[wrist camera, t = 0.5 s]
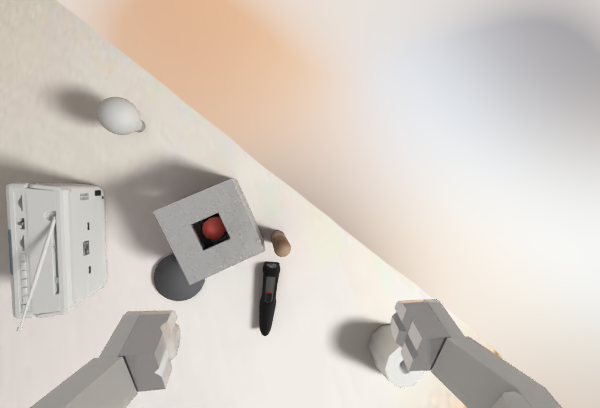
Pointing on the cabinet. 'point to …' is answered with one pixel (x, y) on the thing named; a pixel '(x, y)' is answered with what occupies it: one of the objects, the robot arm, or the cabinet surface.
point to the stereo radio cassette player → (54, 246)
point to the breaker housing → (192, 242)
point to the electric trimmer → (268, 296)
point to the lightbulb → (120, 116)
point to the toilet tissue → (391, 358)
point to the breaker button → (213, 228)
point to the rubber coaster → (174, 280)
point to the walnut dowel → (280, 243)
